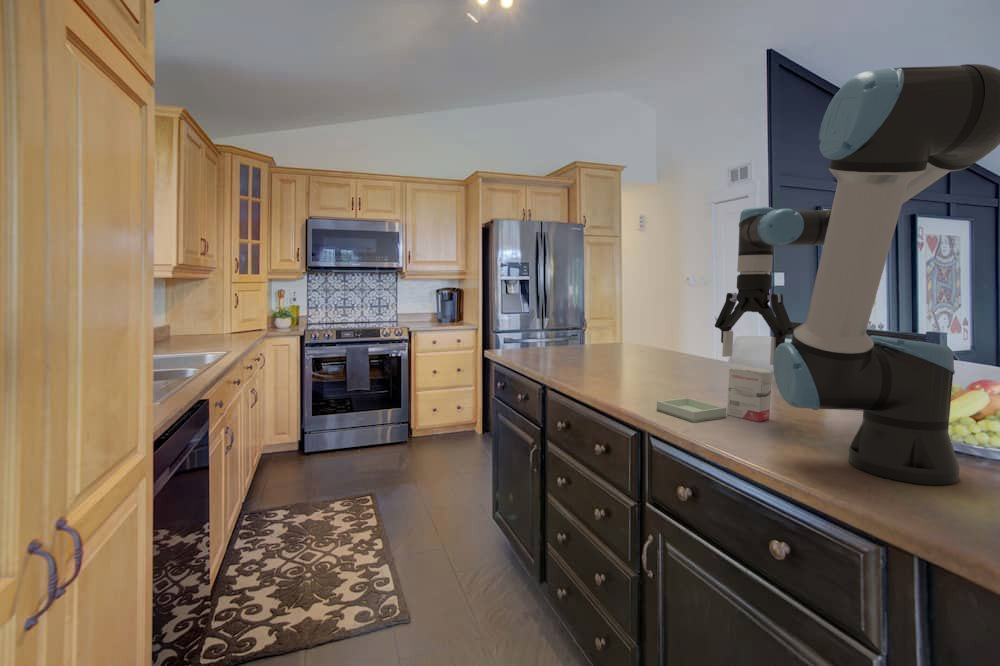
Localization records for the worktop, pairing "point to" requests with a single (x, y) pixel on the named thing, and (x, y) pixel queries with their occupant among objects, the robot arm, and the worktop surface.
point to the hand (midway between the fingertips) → (750, 360)
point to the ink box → (749, 394)
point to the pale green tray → (691, 409)
